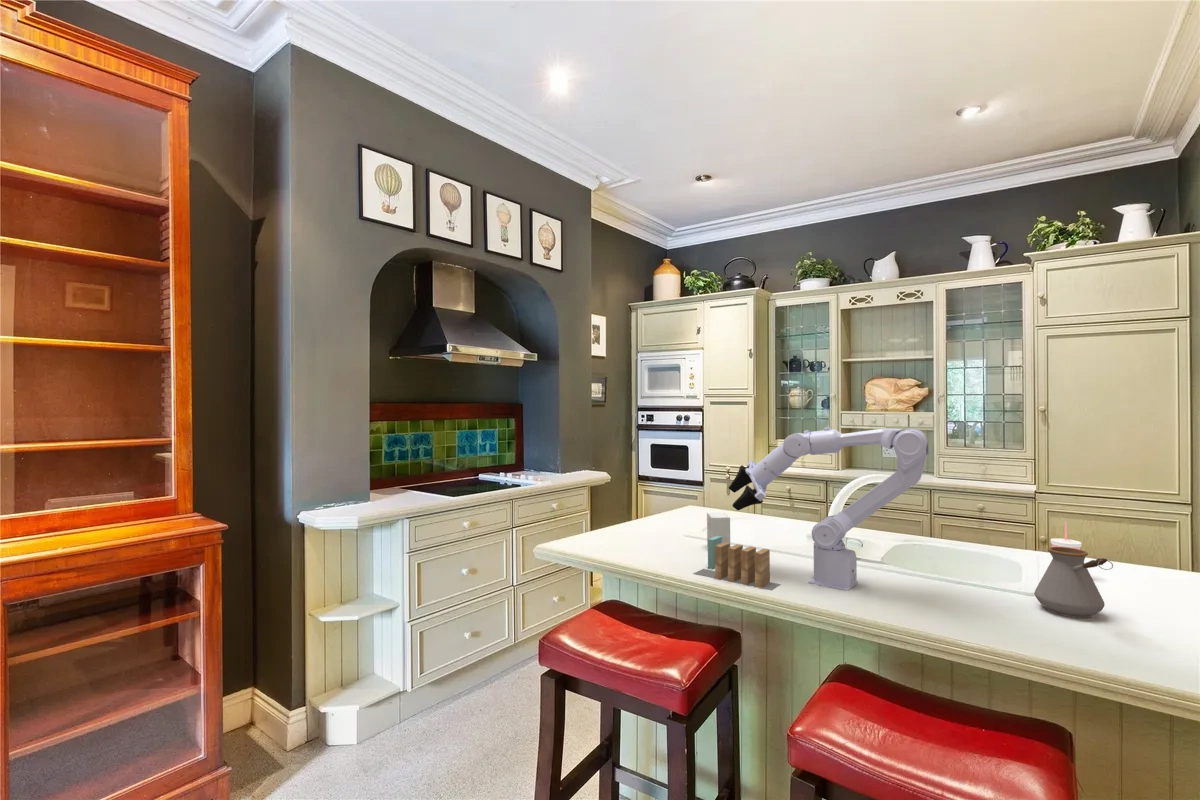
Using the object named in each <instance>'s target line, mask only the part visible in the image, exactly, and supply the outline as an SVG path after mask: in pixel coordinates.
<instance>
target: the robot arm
mask: <svg viewBox="0 0 1200 800" xmlns="http://www.w3.org/2000/svg"><path fill="white" fill-rule="evenodd" d="M870 445H879V446H882V447H883V448H886V449H888V450H891V449H894V450H893V451H894V452H895V453H894V454H895V455H896V471H895V472H894V473H892V474H891V475H890V476H888V477H886V478H885V479H884V480H882V481H881V482H880V483H878V484H877V485H876V486H875V487H873V488H871V489H870V490H869V491H867V492H866V493H865V494H863V495H862V496H860V497H859V498H858V499H856V500H855V501H853V502H852V503H851V504H848V506H846V507H845V508H844V509H842V510H841V511H839V512H838V513H836V514H834V515H828V516H826V517H823V518H822V519H821V521H820V522H817V523H816V524H815V525H814V526H813V527H812V530H811V538H812V541H813V577H812V578H810V579H809V580H808V581H807V584H811V585H816V586H822V587H827V588H832V589H838V590H843V591H846V592H847V591H850V590H851V589H853V588H854V586H856V585H857V584H858V580H857V577H858V576H857V575H858V573H857V571H858V569H857V565H858V563H857V560H858V559H857V553H856V551H855V550H853V549H848V548H847V547H846V544H845V543H844V540H843V539H844V537H845V536H846V534H847V533H848V532H849V531H850V530H852V529H853V528H855V527H856V526H858V525H859V524H860V523H861V522H863V521H864V520H866V519H868V518H869V517H871V516H872V515H873V514H874V513H876V512H878V510H881V508H883V507H885V506H886V505H887V504H889V503H890V502H892V501H893V500H895V499H896V498H898V497H899V496H901V495H902V494H903V493H905V492H906V491H908V490H909V489H910V488H912V487H913V486H915V485H916V484H917V483H919V481H920V480H921V478H922V475H923V473H924V469H925V466H926V461H927V459H928V455H930V454H929V453H930V448H929V439H928V437H927V435H926V434H925V432H923V431H922V430H921V429H918V428H913V427H912V428H907V429H904V428H894V427H893V428H891V427H890V428H889V427H888V428H886V427H884V428H877V429H870V430H863V431H854V432H847V433H842V432H840V431H839V430H837V429H835V428H834V429H832V428H831V426H830V427H824V428H823V429H822V430H816V431H815V430H814V431H810V430H809V429H806V430H804V431H803V433H802V432H797V433H796V432H795V433H792V434H789V435H788V436H786V437H785V438H784V441H783V442H782V443H781V444H780V445H779V446H778V447H775V448H774V449H773V450H772V451H770V452H769V453H768V454H767V455H766V456H765V457H763V458H762V459H761V460H759V462H758V463H756V462H755V461H753V460H752V459H751V460H750V461H748V462H747V463H746V465H745V466H746V467H745V466H744V465H742V464H741V465H740V466H739V469H738V471H737V474H736V476H735V477H734V479H733V481H732V482H731V483H730V485H729V486H728V490H730V491H731V492H732V493H734V494H735V493H736V492H738V491H740V490H741V489H742V488H744V487H745V488H744V490H743V492H742V493H741V495H740V496H739V497H738V498H737V499H736V500H735V501H733V503H732V508H733V509H735V510H736V511H740V510H743V509H745V508H747V507H750V506H755V505H760V504H762V503H764V499H765V498H766V497H767V495H766V494H767V487H768V485H769V484H771V482H773V481H775V479H777V477H779V476H781V475H782V474H783V473H784V472H785V471H786V470H788V469H789V468H791V466H792V465H793V464H794V463H795V462H797V460H798V459H800V458H801V457H804V456H806V455H808V454H809V455H812V456H815V455H825V454H826V455H827V454H838V453H839V452H840V451H841V450H842V449H843V448H844V447H855V446H870ZM749 484H752V486H753V488H752V487H751V486H749Z"/></svg>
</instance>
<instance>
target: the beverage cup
mask: <svg viewBox="0 0 1200 800" xmlns="http://www.w3.org/2000/svg"><path fill="white" fill-rule="evenodd" d="M1050 544H1051V547H1066V548H1074V549H1079V550H1081V547H1082V545H1083V543H1082V542H1081V541H1079V540H1074V539H1070V538H1069V539H1068V521H1067V520H1064V538H1061V537H1060V538H1059V537H1058V538H1056V537H1053V538H1050Z"/></svg>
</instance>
